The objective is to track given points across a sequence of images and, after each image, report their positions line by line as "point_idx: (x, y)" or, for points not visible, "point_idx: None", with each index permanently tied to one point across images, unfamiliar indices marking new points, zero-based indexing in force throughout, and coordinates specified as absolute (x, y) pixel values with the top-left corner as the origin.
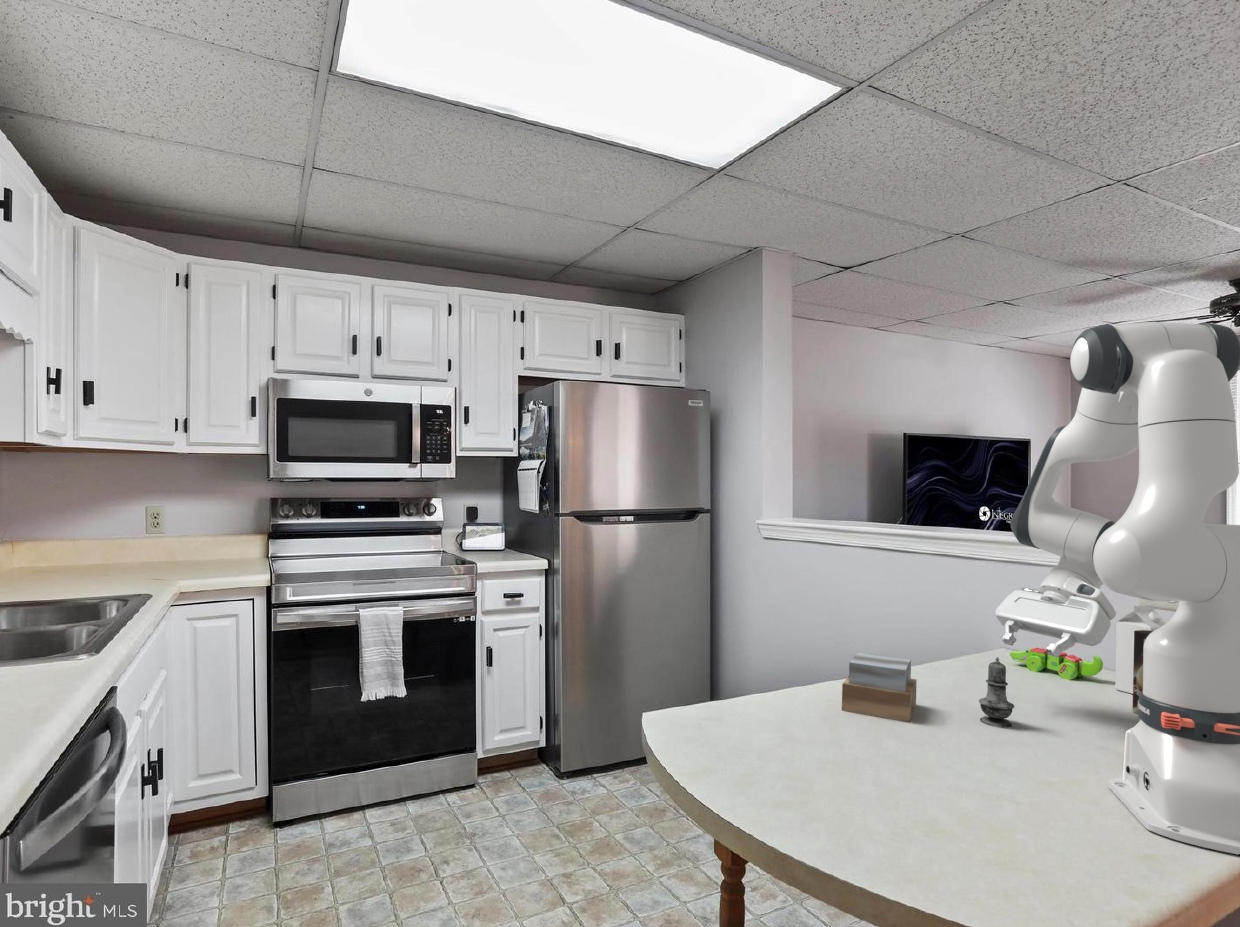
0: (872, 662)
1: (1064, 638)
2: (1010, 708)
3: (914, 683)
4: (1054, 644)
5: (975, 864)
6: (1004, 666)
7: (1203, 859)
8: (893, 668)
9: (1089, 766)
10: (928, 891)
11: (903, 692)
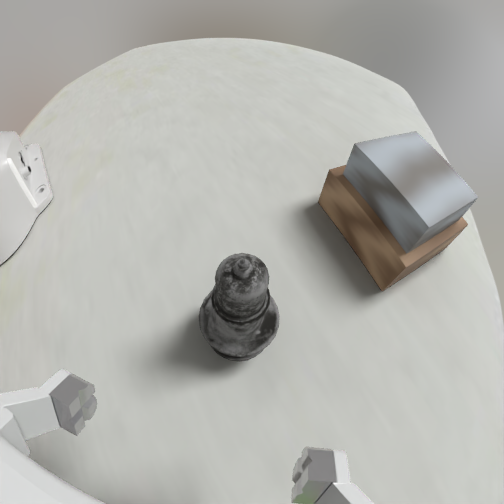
0: (413, 152)
1: (3, 402)
2: (200, 308)
3: (383, 234)
4: (52, 394)
5: (131, 65)
6: (218, 275)
7: None
8: (371, 141)
9: (67, 243)
10: (143, 50)
11: (341, 171)
